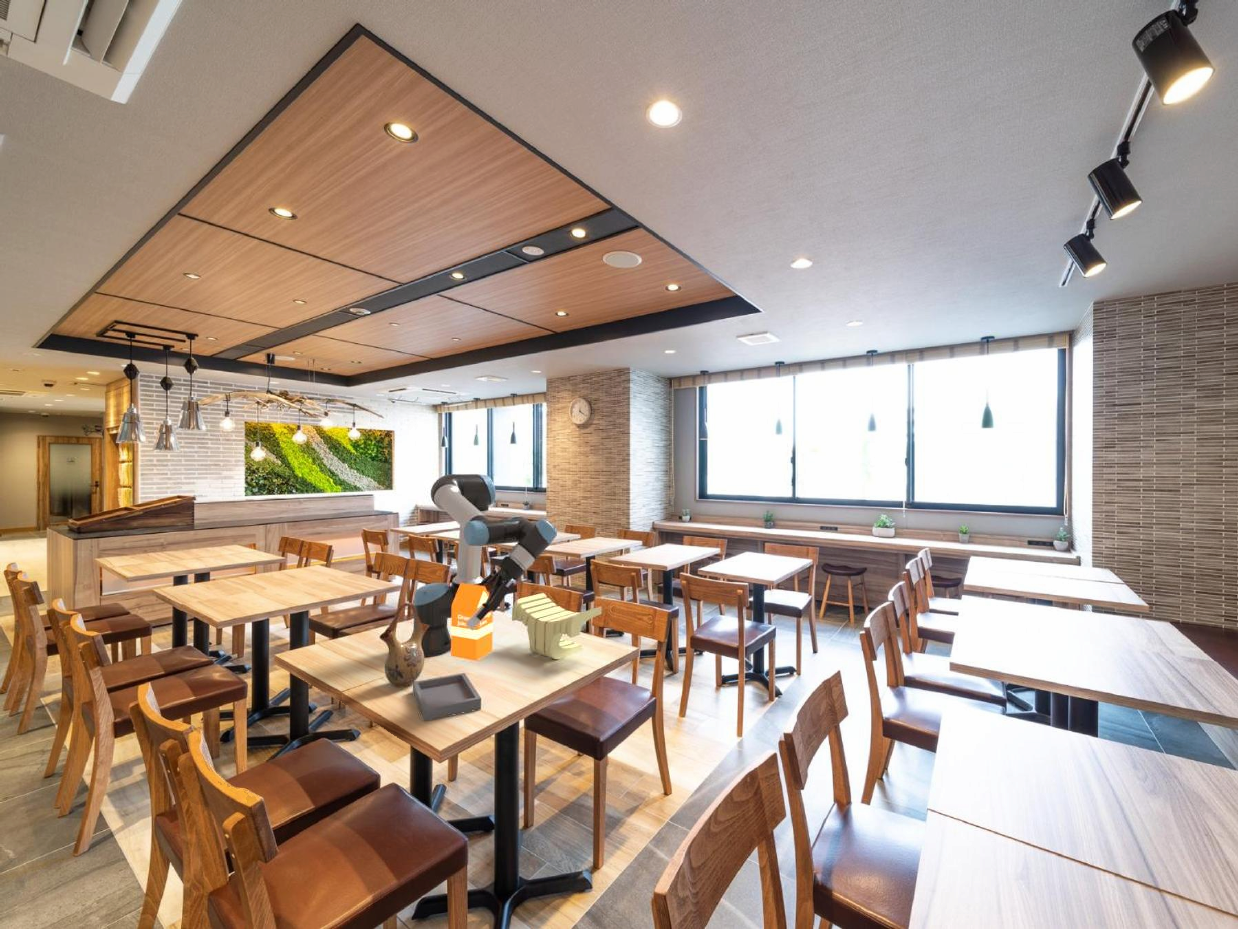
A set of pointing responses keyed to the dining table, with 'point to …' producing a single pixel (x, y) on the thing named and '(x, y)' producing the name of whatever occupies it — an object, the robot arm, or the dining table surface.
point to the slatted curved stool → (550, 625)
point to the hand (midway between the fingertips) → (463, 621)
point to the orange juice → (462, 636)
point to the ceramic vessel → (404, 652)
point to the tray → (445, 696)
